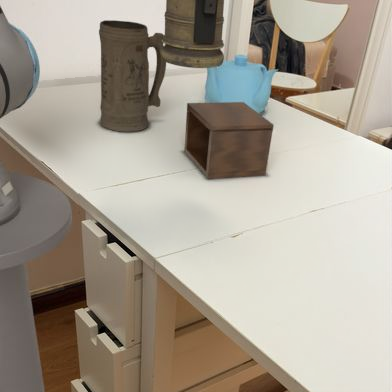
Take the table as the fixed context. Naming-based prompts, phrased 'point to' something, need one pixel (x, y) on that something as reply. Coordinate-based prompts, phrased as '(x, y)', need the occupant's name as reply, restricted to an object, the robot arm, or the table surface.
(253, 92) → the teapot
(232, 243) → the table surface
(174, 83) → the table surface
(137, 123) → the beer stein
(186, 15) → the container
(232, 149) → the shelf
